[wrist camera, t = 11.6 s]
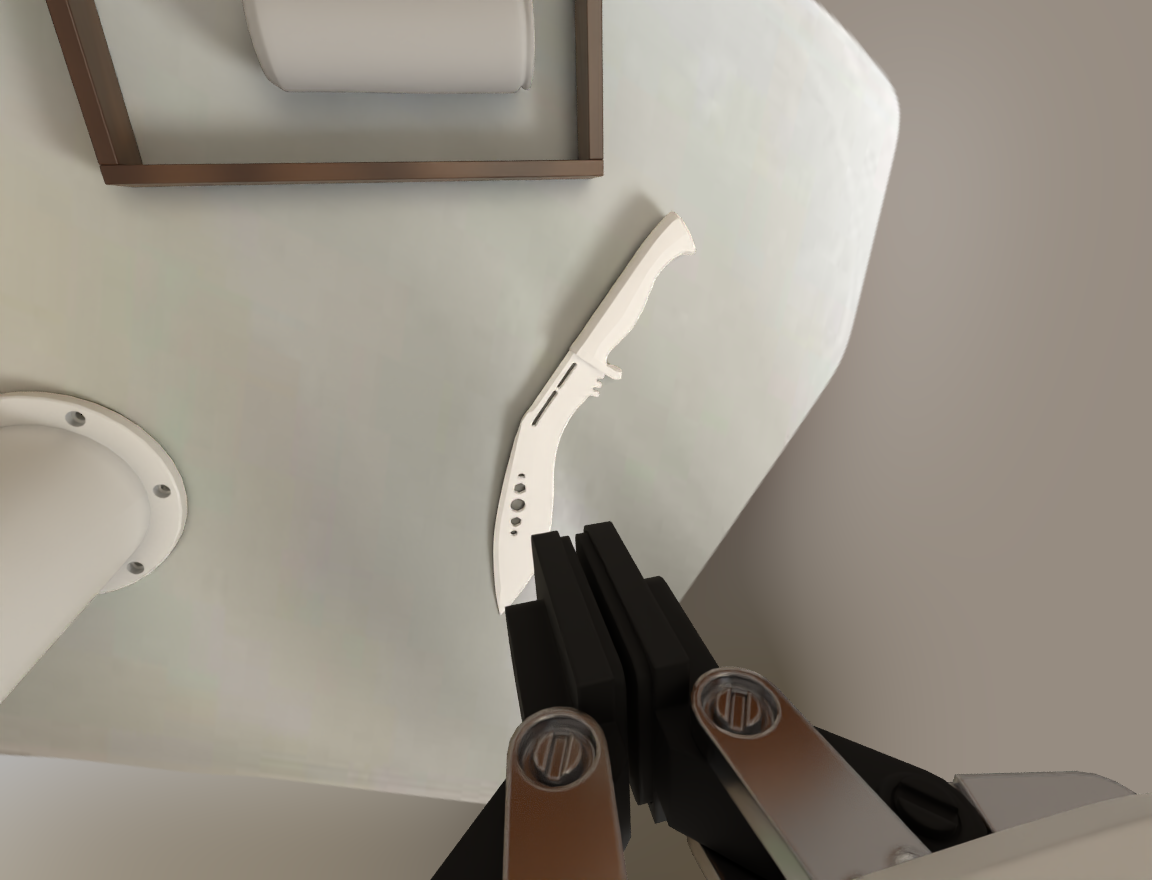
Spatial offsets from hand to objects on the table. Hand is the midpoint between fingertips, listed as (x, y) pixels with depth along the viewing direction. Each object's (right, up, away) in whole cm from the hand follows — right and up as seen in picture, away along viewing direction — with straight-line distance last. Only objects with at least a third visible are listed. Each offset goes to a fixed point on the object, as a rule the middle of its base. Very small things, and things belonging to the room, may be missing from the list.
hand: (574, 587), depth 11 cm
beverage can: (-14, +21, +13) cm, 29 cm away
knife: (0, +4, +27) cm, 27 cm away
